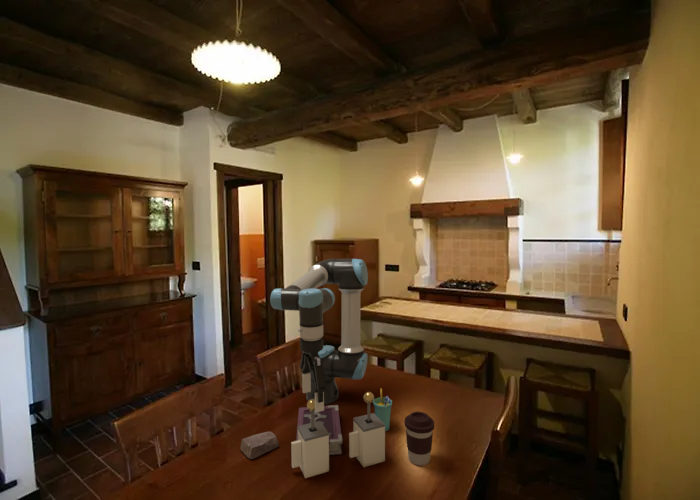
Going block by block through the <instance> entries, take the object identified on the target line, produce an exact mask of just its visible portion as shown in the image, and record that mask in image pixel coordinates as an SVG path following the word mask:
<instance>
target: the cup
mask: <svg viewBox="0 0 700 500" xmlns="http://www.w3.org/2000/svg"><path fill="white" fill-rule="evenodd" d="M379 389H380V390H379V391H380V392H379V393H380V396H379V397H377V398H374V400H373V406H374V414H375V415H376V416H377V417H378V418H379V419H380V420H381V421H382V422H383V423H384V424H385V432H387V431H389V430H390V424H391V423H390V421H391V412H392V411H391V410H392V406H393V400H392V399H390V398H389V397H390V396H388V395H387V396H383V389H382V388H379Z"/></svg>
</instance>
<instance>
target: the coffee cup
mask: <svg viewBox="0 0 700 500" xmlns="http://www.w3.org/2000/svg"><path fill="white" fill-rule="evenodd" d="M403 423H404V427H405V438H406V439H405V440H406V448H407V457H408V458H407V459H408V461H409V462H410V463H412V465H416V466H426V465H428V464H429V463H430V461H431V455H432V454H431V452H432V445H433V430H434V429H435V421H434V419H433V418H432V417H431V416H429V415H428V414H427V413H426V412H423V411H413V412H411V413H410V414H408V415H407V416H405V417H404V422H403Z"/></svg>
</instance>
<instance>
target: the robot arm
mask: <svg viewBox="0 0 700 500" xmlns="http://www.w3.org/2000/svg"><path fill="white" fill-rule="evenodd" d="M368 279H369V274H368V267H367V264H366V262H365V260H363V259H361V258H359V259H358V258H327V259H325V260H321V261H319V262H317V263H315V264H313V265H312V266H311V267H309V268H308V270H307V272H306V273H304V274H303V275H302V276H300V277H299V278H298V279H296V280H294V282H292V283H291V284H289V285H288V286H286V287H285V288H281V287H280V288H274V289H273V290H272V291H271V294H270V297H269V301H270V306H271V307H272V308H273V309H275V310H280V311H295V312H296V311H297V312H298V314H299V328H298V330H297V331H298V332H299V337H300V338H299V348H300V351H301V359H300V364H299V368H300V370H301V373H302V374H301V376H302V378H301V379H302V381H301V382H302V383H301V386H302V393H303V394H305V399H306V401H307V402H308V401H309V400H311V399H314V400H315V412H320V411H324V406H325V405H328V404H332V403H334V402H336V401H337V400H338V399H339V395H340V393H339V388H338V386H337V382H336V378H339V379H347V380H348V379H349V380H362V379H363V378H364V377H365V373H366V369H367V366H368V358H369V357H368V353H366V352H365V351H364V350H365V349H364V347H363V346H362V345H361V292H362V291H363V290H365V286H367V285H368V281H369V280H368ZM324 285H337V288H338V290H339V291H340V292H341V327H340V328H341V338H340V339H341V342H340V344H341V345H340V346H339V347H337V350H336V348H335V346H333V345H330V344H329V345H327V344H326V345H324V337H323V336H324V313H325V312H327V311H329V310H330V309H331V308H332V307H333V305H334V304H335V301H336V297H335V294H334V292H333V291H332V290H331V289H330V288H325V287H323V286H324ZM321 286H322V288H320V289H319V288H318V287H321Z"/></svg>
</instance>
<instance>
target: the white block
mask: <svg viewBox="0 0 700 500" xmlns="http://www.w3.org/2000/svg"><path fill="white" fill-rule="evenodd" d="M352 423H353V424H352V426H353V429H352V430H353V431H351V432H348V443H349V445H348V449H349V451H348V452H349V453H348V456H349V458H350V459H352V458H356V459H357V460H358V462H359V463H360V465H361V466H362V467H363V468H367V467H369V466H373V465H376V464H379V463H383V462H386V431H385V424H384V423H383V422H382V421H381V420H380V419H379V418H378V417H377V416H376V415H375V412H373V413H370V423H368V424H367V414H364V415H360V416H355V417H353V422H352Z"/></svg>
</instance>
